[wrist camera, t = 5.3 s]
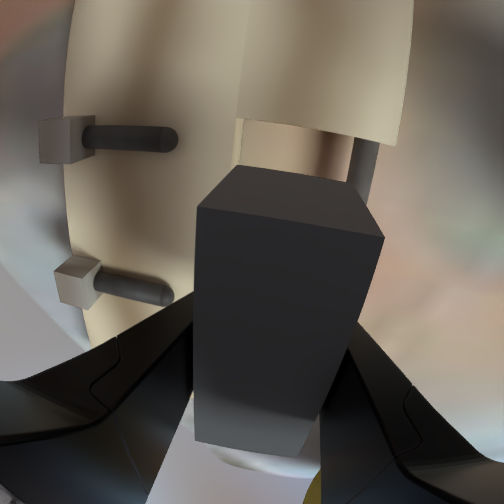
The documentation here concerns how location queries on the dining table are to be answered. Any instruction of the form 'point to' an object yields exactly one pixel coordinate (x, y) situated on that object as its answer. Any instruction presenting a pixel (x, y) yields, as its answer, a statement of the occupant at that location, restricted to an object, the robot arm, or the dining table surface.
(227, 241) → the dark grey chamfered block
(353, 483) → the robot arm
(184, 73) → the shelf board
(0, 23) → the dining table surface
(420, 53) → the dining table surface
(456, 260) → the dining table surface
